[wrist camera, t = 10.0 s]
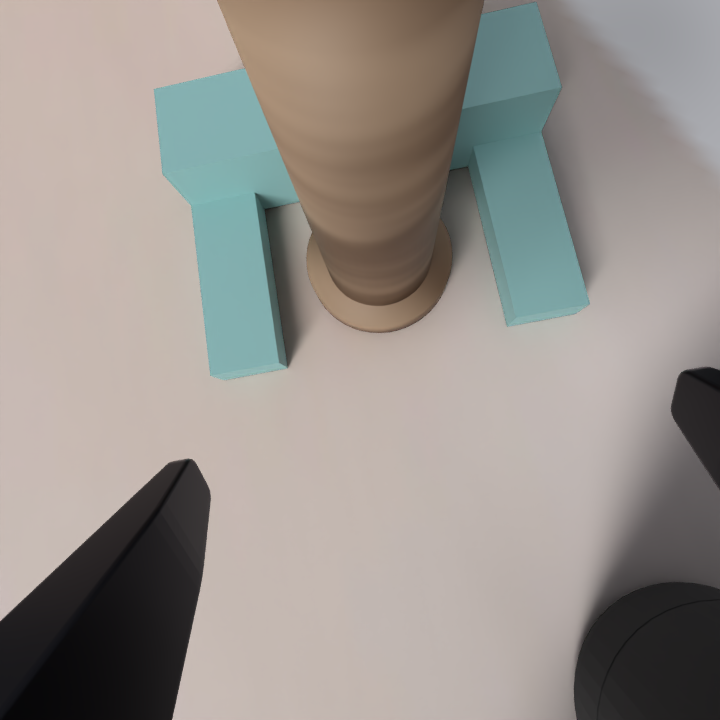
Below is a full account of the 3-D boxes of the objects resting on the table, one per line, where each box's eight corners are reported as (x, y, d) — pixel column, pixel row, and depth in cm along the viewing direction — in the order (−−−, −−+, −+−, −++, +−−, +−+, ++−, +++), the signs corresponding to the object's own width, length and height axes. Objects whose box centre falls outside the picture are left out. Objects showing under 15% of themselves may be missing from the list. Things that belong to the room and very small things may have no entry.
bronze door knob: (418, 353, 20) (470, 164, 6) (289, 303, 21) (75, 36, 7) (469, 228, 20) (620, -195, 7) (343, 184, 21) (249, -268, 8)
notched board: (575, 313, 19) (620, 282, 15) (224, 380, 20) (181, 366, 16) (511, 81, 22) (536, 1, 18) (196, 149, 22) (154, 89, 19)
